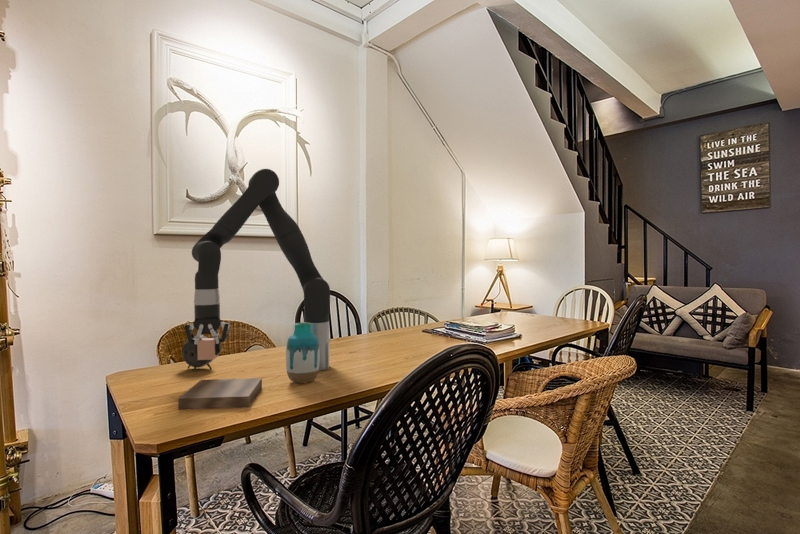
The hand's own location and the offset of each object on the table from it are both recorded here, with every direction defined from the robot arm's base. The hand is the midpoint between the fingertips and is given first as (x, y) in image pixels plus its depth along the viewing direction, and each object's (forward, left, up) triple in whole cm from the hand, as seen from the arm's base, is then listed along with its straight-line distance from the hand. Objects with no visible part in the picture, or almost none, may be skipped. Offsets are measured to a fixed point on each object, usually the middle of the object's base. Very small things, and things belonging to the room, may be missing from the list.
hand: (208, 354), depth 141 cm
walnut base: (-10, +18, -9) cm, 22 cm away
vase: (-31, +4, -9) cm, 32 cm away
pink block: (0, 0, -1) cm, 1 cm away
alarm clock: (+8, -16, -9) cm, 20 cm away
